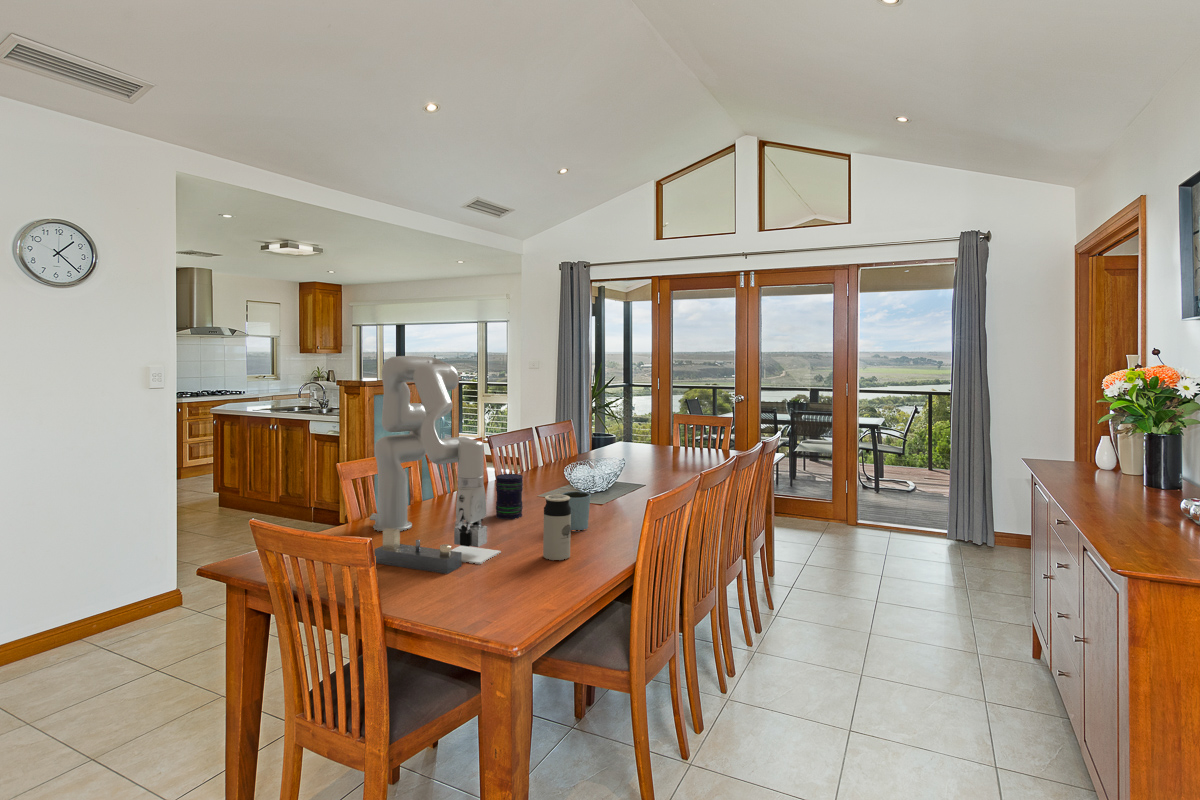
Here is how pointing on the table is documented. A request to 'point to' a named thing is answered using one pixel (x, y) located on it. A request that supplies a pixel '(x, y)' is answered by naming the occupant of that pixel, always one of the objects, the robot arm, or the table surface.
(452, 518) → the table surface
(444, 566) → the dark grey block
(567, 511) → the travel mug
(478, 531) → the grey rectangular block
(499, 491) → the storage jar
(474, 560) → the mat
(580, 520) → the blue grey cup
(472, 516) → the robot arm
